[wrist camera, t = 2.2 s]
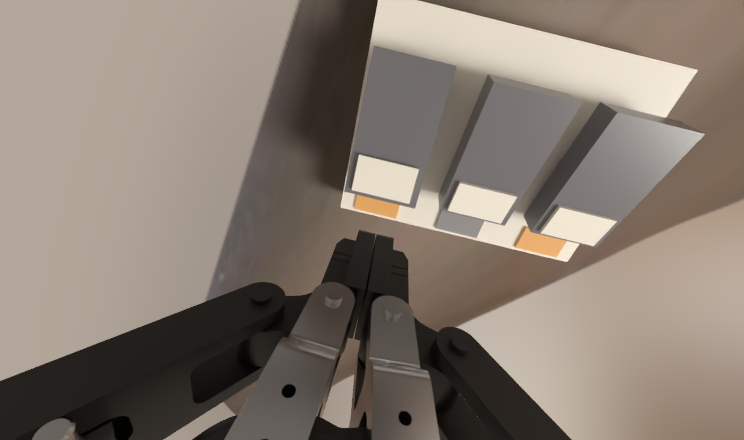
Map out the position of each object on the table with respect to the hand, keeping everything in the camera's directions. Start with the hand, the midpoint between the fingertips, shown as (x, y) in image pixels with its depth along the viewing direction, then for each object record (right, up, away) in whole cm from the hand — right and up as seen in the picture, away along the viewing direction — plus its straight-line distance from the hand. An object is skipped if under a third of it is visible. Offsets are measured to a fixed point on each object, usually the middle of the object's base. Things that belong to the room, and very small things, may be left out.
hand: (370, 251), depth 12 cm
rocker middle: (+8, +6, +7) cm, 12 cm away
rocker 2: (+15, +4, +7) cm, 17 cm away
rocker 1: (+2, +7, +7) cm, 10 cm away
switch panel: (+9, +8, +11) cm, 17 cm away
